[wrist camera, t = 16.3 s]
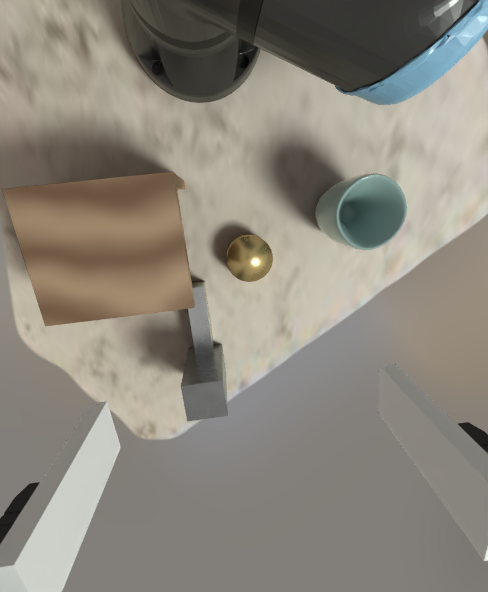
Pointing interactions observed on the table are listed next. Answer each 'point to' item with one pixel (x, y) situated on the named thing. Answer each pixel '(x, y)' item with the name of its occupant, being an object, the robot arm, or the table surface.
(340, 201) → the cup
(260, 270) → the gold metal dome
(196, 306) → the grey toy mallet
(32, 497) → the robot arm
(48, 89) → the table surface
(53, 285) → the brown piece
